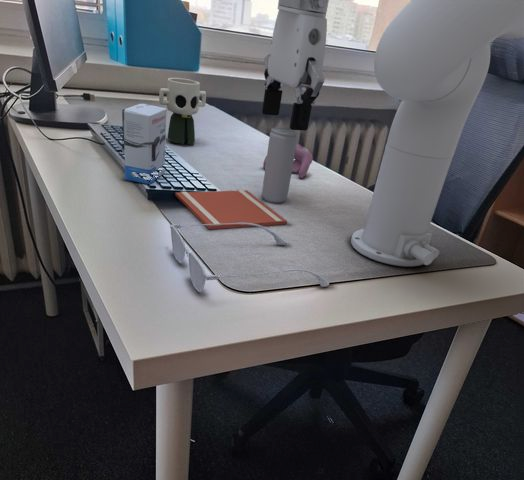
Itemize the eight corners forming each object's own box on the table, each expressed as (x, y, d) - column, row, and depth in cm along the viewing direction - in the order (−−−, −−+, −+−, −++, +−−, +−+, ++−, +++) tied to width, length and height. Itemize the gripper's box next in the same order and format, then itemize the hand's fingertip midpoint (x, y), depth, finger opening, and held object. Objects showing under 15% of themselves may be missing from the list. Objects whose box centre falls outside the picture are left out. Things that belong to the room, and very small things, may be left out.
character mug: (163, 146, 114) (164, 82, 107) (153, 137, 119) (154, 75, 112) (208, 147, 119) (213, 85, 112) (197, 139, 124) (201, 79, 117)
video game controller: (307, 183, 111) (317, 151, 110) (302, 177, 107) (313, 144, 106) (266, 172, 114) (276, 140, 113) (260, 166, 110) (270, 133, 109)
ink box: (149, 185, 92) (150, 114, 85) (123, 180, 92) (122, 109, 85) (166, 173, 99) (168, 107, 92) (141, 168, 99) (142, 102, 92)
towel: (286, 224, 85) (287, 220, 85) (208, 229, 79) (209, 225, 78) (246, 193, 95) (247, 189, 95) (175, 195, 89) (175, 191, 89)
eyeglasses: (167, 247, 71) (168, 220, 69) (282, 242, 78) (286, 217, 76) (203, 303, 60) (205, 272, 58) (332, 290, 67) (339, 262, 65)
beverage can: (256, 196, 95) (264, 127, 88) (275, 193, 98) (285, 127, 91) (272, 205, 92) (283, 135, 85) (292, 202, 95) (303, 134, 88)
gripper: (356, 12, 73) (329, 137, 83) (295, 0, 85) (278, 110, 95) (312, 5, 70) (290, 135, 80) (255, -7, 82) (242, 108, 92)
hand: (283, 121), depth 87 cm, fingers open, 9 cm apart
